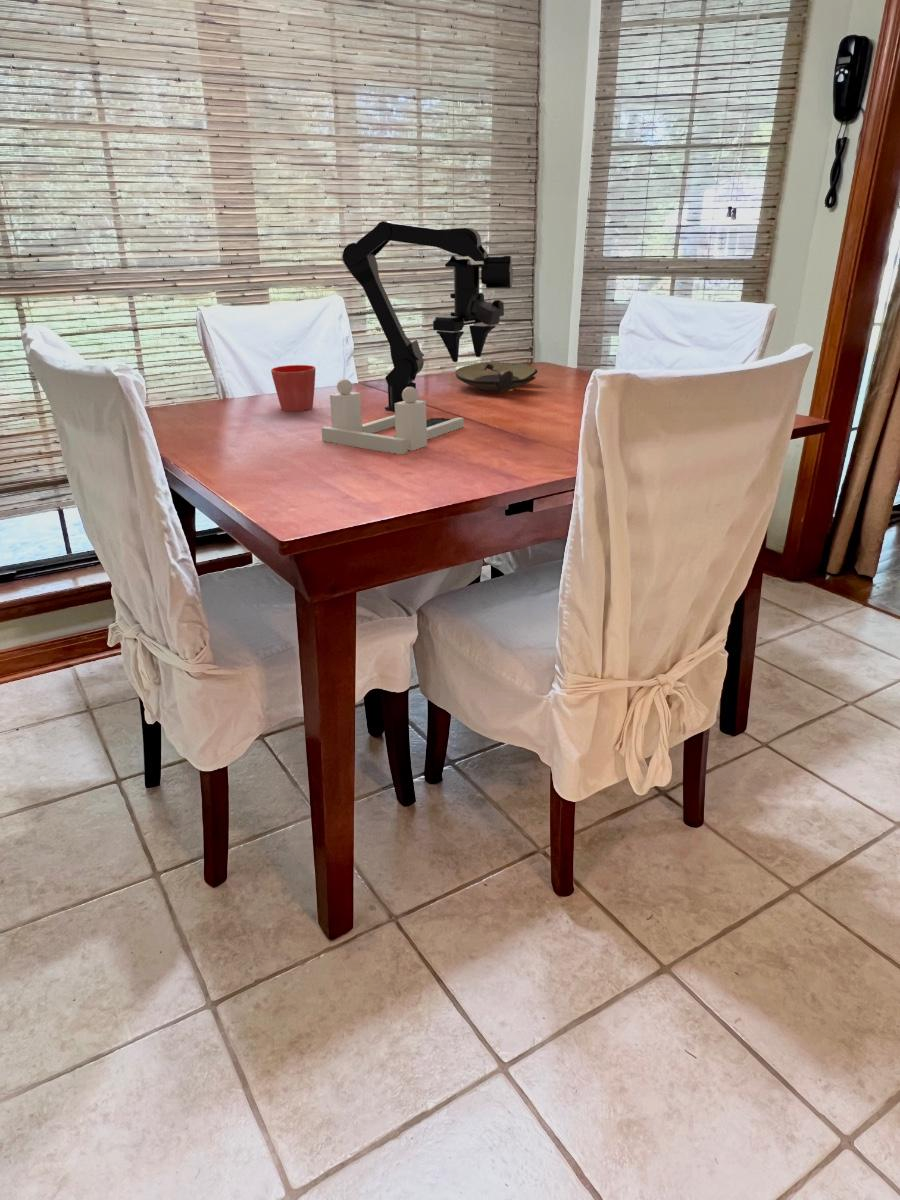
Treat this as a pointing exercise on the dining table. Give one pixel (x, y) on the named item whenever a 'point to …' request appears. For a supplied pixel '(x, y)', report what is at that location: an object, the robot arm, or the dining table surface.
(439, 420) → the wood
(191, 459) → the dining table surface
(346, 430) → the twin knob post frame
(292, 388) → the flower pot
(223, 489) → the dining table surface
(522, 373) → the oil lamp
